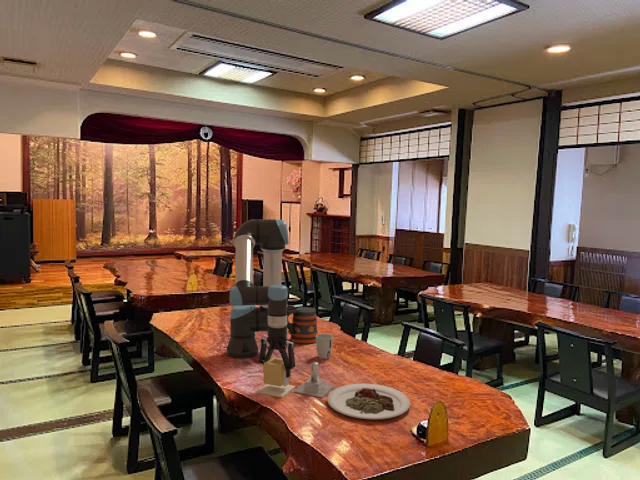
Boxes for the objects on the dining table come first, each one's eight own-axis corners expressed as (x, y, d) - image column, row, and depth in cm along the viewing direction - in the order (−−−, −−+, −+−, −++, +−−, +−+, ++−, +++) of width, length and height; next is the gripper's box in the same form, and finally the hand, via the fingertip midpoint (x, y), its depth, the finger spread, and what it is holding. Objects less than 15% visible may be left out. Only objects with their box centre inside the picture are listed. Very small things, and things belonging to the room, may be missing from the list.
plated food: (351, 430, 153) (351, 420, 152) (314, 395, 180) (314, 386, 179) (427, 414, 165) (427, 404, 165) (381, 383, 192) (381, 375, 192)
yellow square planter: (263, 383, 181) (263, 363, 180) (273, 376, 188) (273, 357, 187) (280, 386, 178) (280, 366, 177) (289, 380, 185) (289, 360, 184)
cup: (330, 360, 218) (331, 339, 217) (313, 359, 220) (314, 338, 219) (333, 355, 226) (334, 334, 225) (317, 353, 228) (317, 333, 227)
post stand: (293, 392, 181) (294, 365, 180) (307, 381, 192) (307, 356, 191) (322, 398, 176) (322, 370, 176) (334, 386, 187) (335, 360, 187)
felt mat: (257, 392, 180) (257, 391, 180) (271, 382, 190) (271, 381, 190) (282, 397, 176) (282, 396, 176) (295, 387, 186) (295, 386, 186)
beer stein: (294, 347, 236) (294, 308, 234) (278, 340, 248) (278, 303, 246) (323, 341, 248) (324, 303, 246) (307, 334, 259) (307, 298, 258)
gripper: (249, 324, 182) (249, 382, 184) (296, 331, 174) (295, 391, 175) (259, 320, 189) (259, 375, 190) (305, 326, 180) (304, 384, 182)
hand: (276, 383), depth 183 cm, fingers closed on yellow square planter, 7 cm apart
